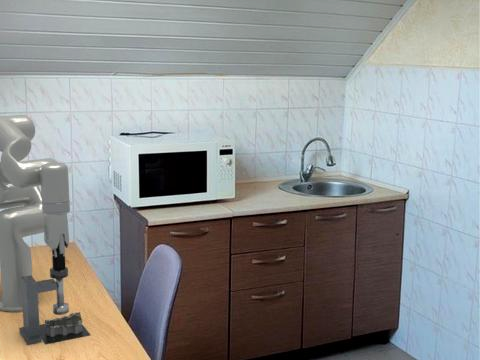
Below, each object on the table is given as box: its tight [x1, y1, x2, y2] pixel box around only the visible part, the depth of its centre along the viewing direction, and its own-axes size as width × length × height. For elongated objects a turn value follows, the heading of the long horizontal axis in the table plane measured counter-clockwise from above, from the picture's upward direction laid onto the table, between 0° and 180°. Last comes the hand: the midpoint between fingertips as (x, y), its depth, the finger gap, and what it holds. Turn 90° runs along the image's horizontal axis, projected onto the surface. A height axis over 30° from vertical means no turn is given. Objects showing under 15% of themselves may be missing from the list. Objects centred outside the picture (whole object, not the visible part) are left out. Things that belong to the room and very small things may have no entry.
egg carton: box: [44, 311, 84, 337], centre depth 197 cm, size 11×8×4 cm
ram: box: [49, 266, 70, 316], centre depth 195 cm, size 5×5×13 cm
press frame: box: [18, 274, 91, 346], centre depth 195 cm, size 14×18×17 cm
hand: (59, 269), depth 193 cm, fingers closed
